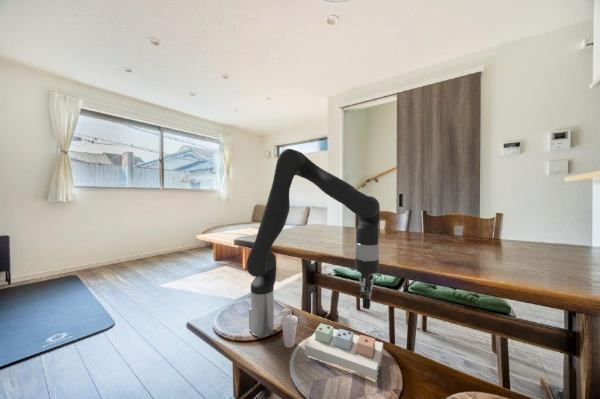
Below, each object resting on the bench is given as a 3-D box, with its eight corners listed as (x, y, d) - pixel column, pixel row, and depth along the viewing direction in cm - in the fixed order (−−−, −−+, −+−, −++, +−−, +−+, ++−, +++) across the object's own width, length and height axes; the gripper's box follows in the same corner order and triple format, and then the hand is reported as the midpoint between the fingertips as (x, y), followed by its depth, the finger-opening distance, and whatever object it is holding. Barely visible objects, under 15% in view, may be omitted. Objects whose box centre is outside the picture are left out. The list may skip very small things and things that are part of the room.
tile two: (315, 345, 84) (315, 329, 84) (320, 338, 88) (320, 322, 88) (328, 350, 82) (328, 333, 81) (333, 342, 86) (333, 326, 86)
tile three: (335, 352, 81) (335, 335, 80) (339, 344, 85) (339, 328, 85) (349, 357, 78) (349, 339, 78) (353, 348, 83) (353, 331, 82)
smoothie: (295, 351, 84) (295, 313, 83) (278, 348, 85) (278, 311, 84) (299, 340, 90) (299, 304, 89) (283, 337, 91) (283, 302, 91)
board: (304, 356, 81) (304, 345, 81) (320, 334, 93) (320, 324, 93) (376, 382, 70) (376, 369, 70) (383, 354, 82) (383, 342, 82)
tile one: (356, 359, 77) (356, 342, 77) (360, 350, 81) (360, 333, 81) (372, 365, 75) (372, 346, 74) (374, 355, 79) (375, 338, 79)
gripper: (360, 250, 84) (359, 297, 85) (350, 260, 73) (349, 314, 73) (382, 253, 81) (381, 302, 82) (375, 263, 69) (374, 320, 70)
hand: (366, 307), depth 77 cm, fingers closed
